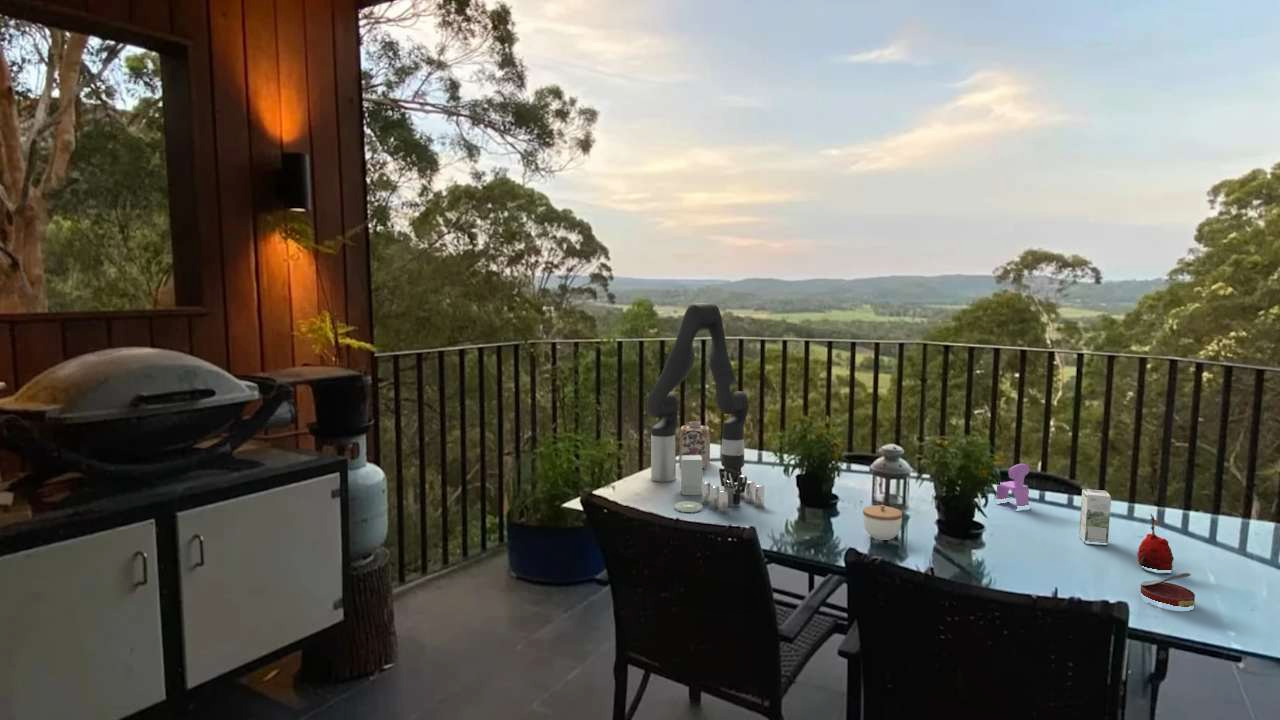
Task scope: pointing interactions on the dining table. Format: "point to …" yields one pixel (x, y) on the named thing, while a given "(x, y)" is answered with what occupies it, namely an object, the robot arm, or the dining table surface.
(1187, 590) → the canned food
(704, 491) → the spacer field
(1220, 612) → the dining table surface
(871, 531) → the lidded jar
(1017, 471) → the toy chair
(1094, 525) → the syrup box
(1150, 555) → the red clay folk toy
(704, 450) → the decorative jar
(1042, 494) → the dining table surface
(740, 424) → the robot arm
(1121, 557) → the dining table surface
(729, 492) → the grey upright block
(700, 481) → the supplement box
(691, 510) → the saucer
